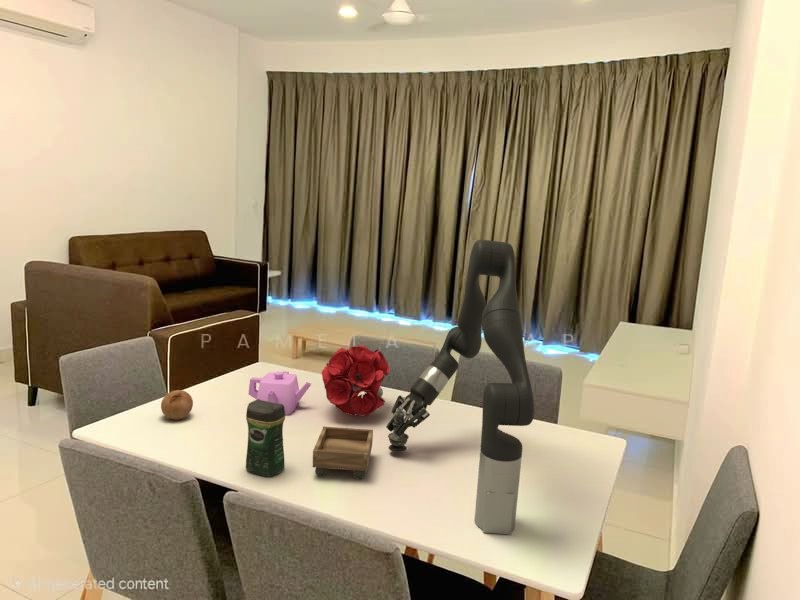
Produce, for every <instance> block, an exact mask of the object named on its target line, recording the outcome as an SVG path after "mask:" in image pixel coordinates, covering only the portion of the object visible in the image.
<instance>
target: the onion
mask: <svg viewBox="0 0 800 600" xmlns="http://www.w3.org/2000/svg"><path fill="white" fill-rule="evenodd" d="M193 406H194V401H193V398H192V396H191V394H190V393H189V392H187V391H185V390H183V389H182V390H181V389H177V390H172V391H170V392H168V393H167V394H165V396H164V397H163V398H162V400H161V402H160V410H161V412H162V414H163V416H164V418H166V419H169V420H172V421H173V420H174V421H177V420H183V419H184V418H186V417H188V415H189V414H190V413H191V411H192V410H193Z"/></svg>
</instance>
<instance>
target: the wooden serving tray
mask: <svg viewBox="0 0 800 600" xmlns="http://www.w3.org/2000/svg"><path fill="white" fill-rule="evenodd" d="M320 431H321V432H320V434H319V436H318V438H317V440H316V443H315V445H314V448H313V450H312V468H314V469H315V470H314V472H315V474H316V476H317V477H320V476H322V477H325V475H326V474H327V472H328V470H329V469H330V470H331V469H332V470H345V471H346V470H347V471H353V476H354V478H355V479H357V480H362V479H364V478H365V477H366V474H367V473H366V472H367V471H368V468H369V462H370V458H371V454H372V453H371V452H372V448H373V440H374V439H373V438H374V435H373V434H374V429H369V428H368V429H366V428H353V427H349V428H348V427H339V426H338V427H336V426H335V427H334V426H323V427H322V429H321V430H320Z"/></svg>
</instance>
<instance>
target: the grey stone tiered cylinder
mask: <svg viewBox="0 0 800 600" xmlns="http://www.w3.org/2000/svg"><path fill="white" fill-rule="evenodd" d="M398 410H399V411H397V410H396V412H395V414H394V422H393V425H394V429H393V431H392V432H391V433H389V434H388V435H387V438H388V441H389V443H390V445H389V446H388V450H389V451H391V452H395V453H402V452H403V453H404V452H406V451H407V449H408V448H407V446H406V444H407V442H408V439H409V435H408V434H407V433H405V432H404V433H403V434H402V435H401V436H400V437H398V436H397V435H396V434H395V433H394V431H395V430H396V429H397V428H398V426H399V425H400V424H401V422H403V420H404V419H405V417H404V412H402V411H400V410H401V409H400V408H399V409H398Z"/></svg>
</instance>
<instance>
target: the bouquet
mask: <svg viewBox="0 0 800 600" xmlns="http://www.w3.org/2000/svg"><path fill="white" fill-rule="evenodd" d="M390 372H391V369H390V366H389V363H388V361H387V359H386V357H384V353H382V352H381V351H380V350H379V349H376V350H373V351H372V350H370V349H369V348H368V346H366V345H356V346H351V347H350V348H345V347H341V348H339V349H338V350H336V352H335V353H334V354H333V355H332V357H330V359H329V360H328V362H327V363H326V366H324V368H323V369H322V371H321V376H322V381H323V385H324V386H323V387H324V389H325V394H326V395H325V397H326V399H327V400H328V402H329V403H331V404H332V405H334V406H335V407H336V408H337V409H338V411H340V412H341V413H344V414H347V415H349V416H353V417H354V416H356V415H359V416H363V417H368V416H369V415H371V414H373V413H374V412H375V411H376V410H379V409H380V408H381V407H382V406H384V405H385V403H386V401H385V400H384V398H383V395H384V390H383V388H382V387H381V386H382V383H383V381H384V379H385V378H384V377H386V376H388V375H389V373H390ZM362 392H364V394H361V393H362Z"/></svg>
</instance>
